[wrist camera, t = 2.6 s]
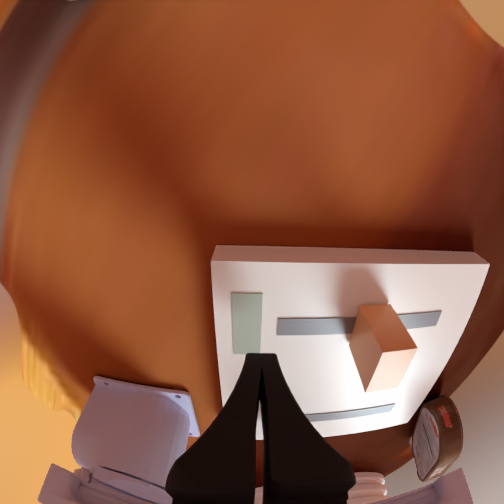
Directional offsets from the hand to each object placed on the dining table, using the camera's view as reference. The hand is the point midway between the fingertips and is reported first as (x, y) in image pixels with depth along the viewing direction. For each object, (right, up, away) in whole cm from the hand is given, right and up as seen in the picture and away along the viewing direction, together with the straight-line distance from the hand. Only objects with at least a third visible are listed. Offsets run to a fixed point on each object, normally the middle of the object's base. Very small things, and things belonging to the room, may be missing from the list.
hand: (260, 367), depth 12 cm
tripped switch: (+6, +1, +3) cm, 7 cm away
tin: (+20, -15, +12) cm, 28 cm away
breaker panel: (+6, -3, +7) cm, 10 cm away
